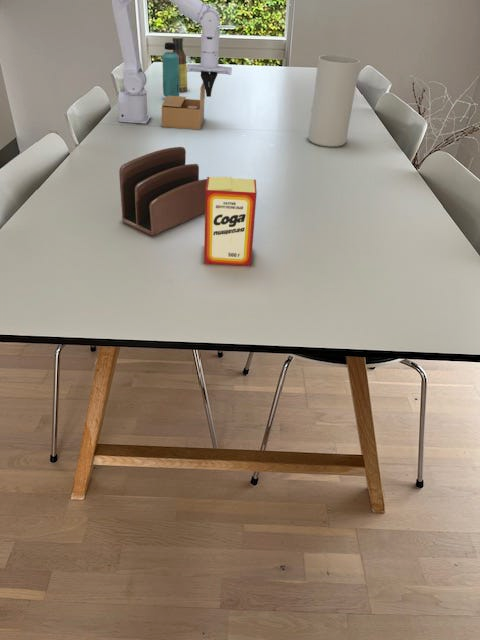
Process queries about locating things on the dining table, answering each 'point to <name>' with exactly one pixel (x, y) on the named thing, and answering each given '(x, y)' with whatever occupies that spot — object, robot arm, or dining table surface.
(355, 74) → the cylinder vase
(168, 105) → the carton
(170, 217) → the letter holder
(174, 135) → the dining table surface
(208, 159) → the dining table surface
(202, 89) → the flap
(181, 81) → the sauce bottle
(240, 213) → the baking soda box
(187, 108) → the spice jar
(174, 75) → the beverage bottle
